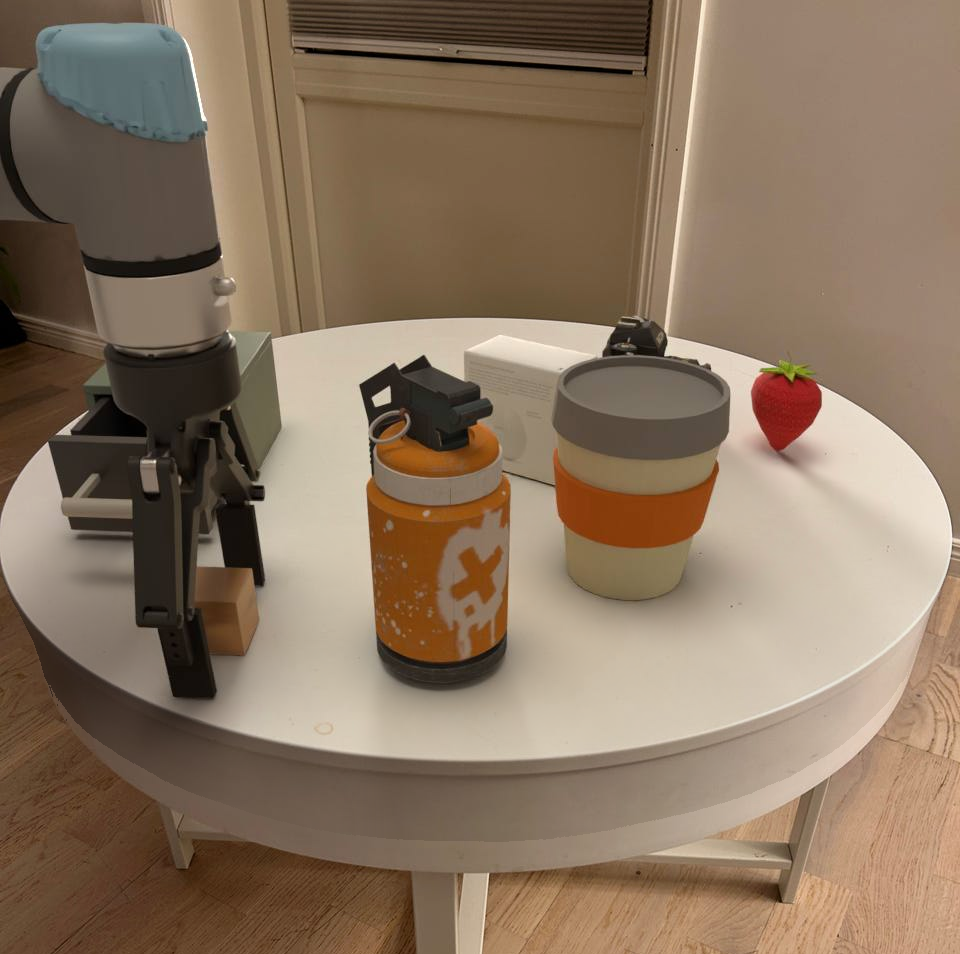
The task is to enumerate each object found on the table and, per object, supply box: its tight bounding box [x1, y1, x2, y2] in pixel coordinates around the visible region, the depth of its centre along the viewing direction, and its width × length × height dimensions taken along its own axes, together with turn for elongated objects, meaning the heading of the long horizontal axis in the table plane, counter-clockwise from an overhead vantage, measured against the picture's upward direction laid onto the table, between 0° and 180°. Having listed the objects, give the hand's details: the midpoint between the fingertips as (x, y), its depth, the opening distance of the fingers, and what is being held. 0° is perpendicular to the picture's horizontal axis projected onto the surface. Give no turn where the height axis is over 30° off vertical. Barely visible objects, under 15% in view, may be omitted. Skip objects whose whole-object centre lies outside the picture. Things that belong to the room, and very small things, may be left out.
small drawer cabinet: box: [82, 330, 283, 469], centre depth 92 cm, size 15×13×10 cm
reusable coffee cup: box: [551, 355, 731, 601], centre depth 74 cm, size 13×13×15 cm
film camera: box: [601, 315, 712, 371], centre depth 99 cm, size 18×12×10 cm
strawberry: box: [750, 348, 823, 452], centre depth 93 cm, size 6×8×10 cm
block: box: [194, 565, 261, 656], centre depth 69 cm, size 4×4×4 cm
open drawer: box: [47, 394, 219, 535], centre depth 81 cm, size 19×11×8 cm, turn 177°
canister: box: [358, 354, 512, 684], centre depth 64 cm, size 9×11×20 cm
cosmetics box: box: [463, 334, 598, 486], centre depth 91 cm, size 10×6×10 cm, turn 57°
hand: (223, 634), depth 70 cm, fingers open, 13 cm apart
